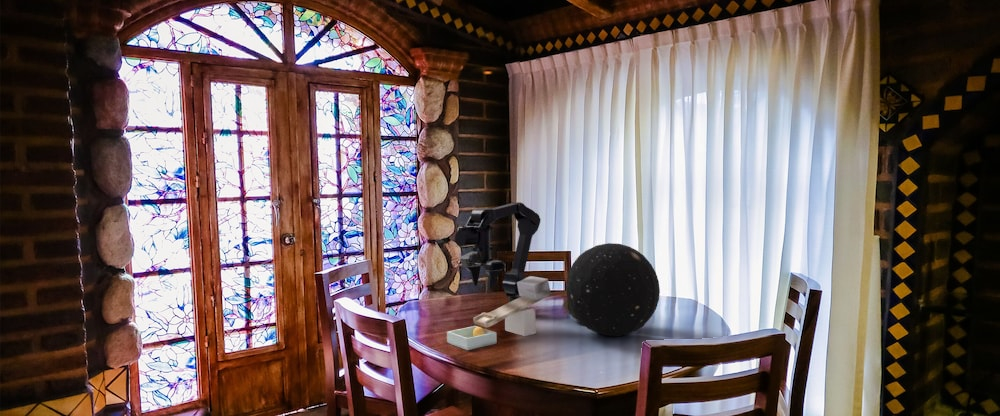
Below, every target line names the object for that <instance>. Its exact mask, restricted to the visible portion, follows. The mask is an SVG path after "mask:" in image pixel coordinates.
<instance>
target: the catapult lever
mask: <svg viewBox="0 0 1000 416" xmlns="http://www.w3.org/2000/svg"><path fill="white" fill-rule="evenodd" d="M517 286H518V291H519V296H521V297H519V298H517V299H515V300H513V301H511V302H509V301H508V303H505V304H504V305H502V306H499V307H497V308H495V309H494V310H492V311H490V312H484V311H483V312H480V313H481V314H478V315H476V316H474V317H473V318H472V320H473V323H474V325H476V326H479V327H482V328H483V327H484V328H485V329H487V328H490V327H491V326H493V325H496V324H497V323H499V322H501V321H503V320H505V318H507V317H509V316H511V315H513V314H515V313H517V312H519V311H521V310H523V309H525V308H526V307H527V308H529V307H531V306H532V305H534V304H536V303H538V302H540V301H543V299H546V298H548V297H550V296H551V288H550V283H549V279H548V278H544V277H537V276H534V275H533V276H532V275H530V276H528V277H526V278H525V279H523V280H521V281H519V282H517Z"/></svg>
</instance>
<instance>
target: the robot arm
mask: <svg viewBox="0 0 1000 416" xmlns="http://www.w3.org/2000/svg"><path fill="white" fill-rule="evenodd" d="M509 216H513V218H514V219H515V220H516V221H517V228H518V229H517V230H518V239H517V244H516V248H515V252H514V257H513V262H512V265H511V266H512V267H511V270H510V271H509V272H505V273H504V277H503V281H502V284H503V285H502V289H503V290H504V294H505V296H506V298H509V299H508V300H509V301H508V303H509V302H511V301H513V300H515V299H517V298H519V297H521V296H519V291H518V286H517V282H519V281H521V280H523V279H525V278H527V277H526V274H525V270H526V265H527V263H528V262H527V261H528V257H529V252H530V248H531V243H532V238H533V236H534V235H535V234H536V233H537V231H538V230H539V228H540V224H541V218H540V215H539V214H538V213H537V212H535V210H532V209H531V208H529V207H528V206H526V205H525V204H524V203H523V202H511V203H507V204H504V205H500V206H496V207H492V208H475V209H473V210H472V211H471V213H470V216H469V219H467V221H466V224H465V226H458V230H457V232H456V233H455V235H454V241H455V243H456V245H457V246H458V247H470V246H471V248H470V252H467V253H465V254H464V255H462V256H460V257H459V259H460V262H461V266H462V267H463V268H464V269H466V271H468V273H469V275H470V277H471V278H470V279H471V281H472V284H473V286H474V287H477V286H478V283H479V279H480V272H481V268H482V267H484V269H485V270H484V272H485V274H486V275H487V281H488V289H489V290H492V289H493V288H494V285H495V283H496V282H497V279H498V277H499V276H500V274H501V272H502V271H503V270H505V263H504V261H502V260H494V258H493V257H491V251H492V250H493V249H494V248H493V246H491V232H493V231H495V228H494V227H493V226H492V225H491V224H493V223H495V222H496V220H498V219H502V218H506V217H509ZM526 308H528V307H526Z"/></svg>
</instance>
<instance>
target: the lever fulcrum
mask: <svg viewBox="0 0 1000 416" xmlns="http://www.w3.org/2000/svg"><path fill="white" fill-rule="evenodd" d="M536 329H537V328H536V309H535V308H530V307H527V308H525V309H523V310H521V311H519V312H517V313H515V314H513V315H511V316H509V317H507V318H505V319H504V330H505V331H506V332H509V333H513V334H516V335H520V336H523V337H527V336H531V335H535V334H536V333H537V332H536Z"/></svg>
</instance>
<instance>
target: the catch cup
mask: <svg viewBox="0 0 1000 416" xmlns="http://www.w3.org/2000/svg"><path fill="white" fill-rule="evenodd" d="M476 327H479V325H473V326H472V325H471V326H468V327H463V328H458V329H453V330H450V331H449V330H448V331H446V343H447V344H450V345H451V346H455V347H458V348H460V349H463V350H465V351H471V350H475V349H479V348H483V347H486V346H487V347H488V346H492V345H495V344H496V345H497V339H498V337H497V332H496V331H493V330H490V329H487V328H485V327H484V328H483V327H482V328H483V329H484V330H485V334H484V335H479V336H475V337H474V336H473V330H474V329H475V328H476Z"/></svg>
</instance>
